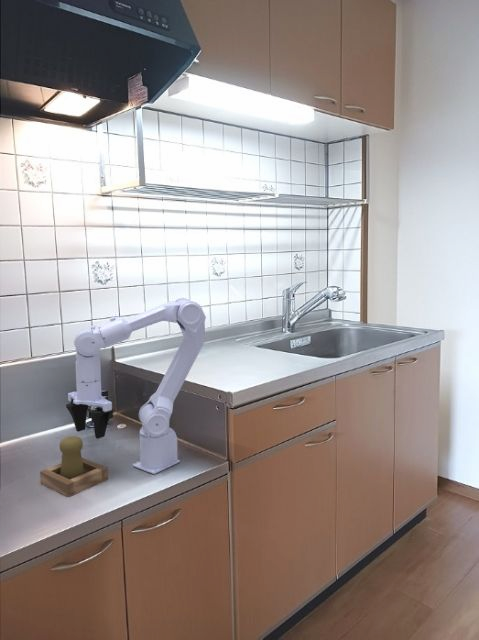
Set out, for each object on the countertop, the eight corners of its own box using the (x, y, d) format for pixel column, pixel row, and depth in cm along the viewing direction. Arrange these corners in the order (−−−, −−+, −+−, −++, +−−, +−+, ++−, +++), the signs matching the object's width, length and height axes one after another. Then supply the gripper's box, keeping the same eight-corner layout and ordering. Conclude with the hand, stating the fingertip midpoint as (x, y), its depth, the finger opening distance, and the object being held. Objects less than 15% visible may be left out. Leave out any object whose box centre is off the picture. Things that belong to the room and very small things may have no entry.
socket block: (80, 467, 127) (79, 456, 127) (107, 479, 120) (107, 467, 120) (40, 483, 118) (40, 471, 118) (68, 497, 112) (67, 484, 111)
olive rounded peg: (62, 490, 115) (60, 444, 113) (56, 480, 120) (55, 436, 118) (88, 484, 118) (87, 439, 116) (82, 474, 123) (80, 431, 122)
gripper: (56, 378, 121) (58, 431, 123) (93, 388, 113) (95, 445, 114) (81, 372, 127) (82, 424, 129) (118, 382, 118) (119, 436, 120)
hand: (90, 433), depth 122 cm, fingers open, 7 cm apart
